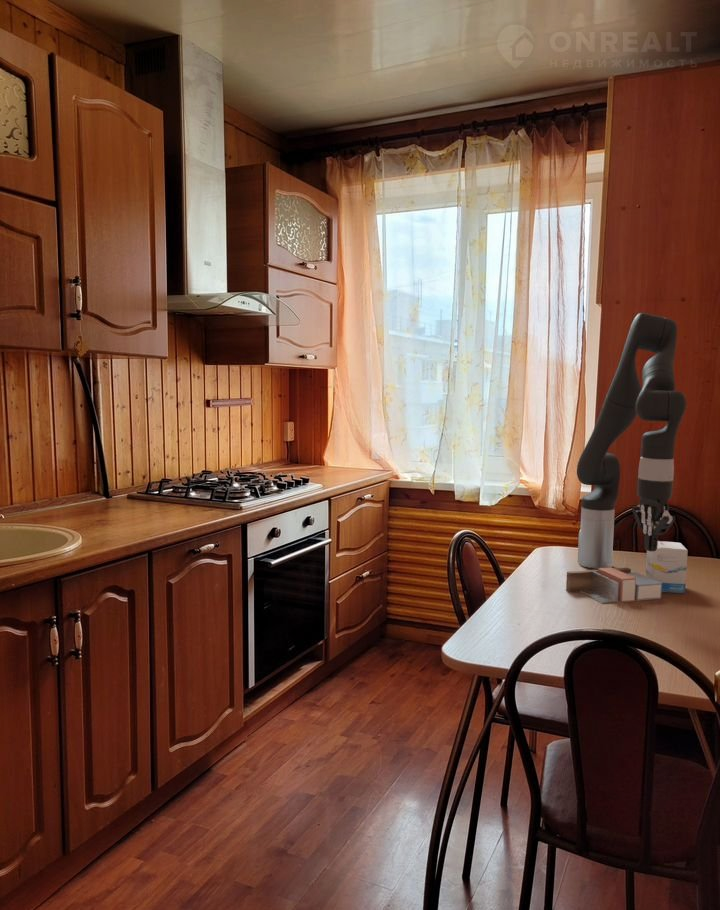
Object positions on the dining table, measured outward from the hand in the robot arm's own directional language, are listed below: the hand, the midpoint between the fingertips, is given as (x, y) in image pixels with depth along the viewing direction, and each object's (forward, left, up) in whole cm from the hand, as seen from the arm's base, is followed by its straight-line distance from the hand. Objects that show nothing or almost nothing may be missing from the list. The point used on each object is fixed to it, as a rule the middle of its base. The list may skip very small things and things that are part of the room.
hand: (650, 550), depth 163 cm
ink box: (-16, +18, -15) cm, 28 cm away
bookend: (-13, -4, -15) cm, 20 cm away
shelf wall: (-19, +1, -15) cm, 24 cm away
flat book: (-13, +7, -15) cm, 21 cm away
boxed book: (-13, +1, -15) cm, 20 cm away
